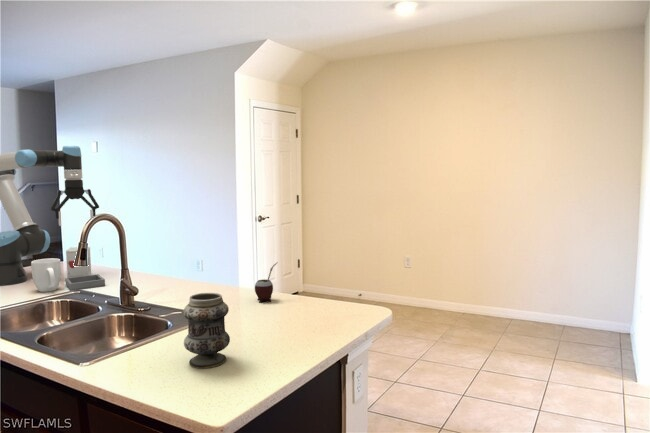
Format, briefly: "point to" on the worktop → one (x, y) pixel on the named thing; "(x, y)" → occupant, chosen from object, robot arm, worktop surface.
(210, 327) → the apothecary jar
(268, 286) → the mate gourd
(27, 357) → the worktop surface
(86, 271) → the supplement box
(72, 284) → the tray
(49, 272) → the mug
